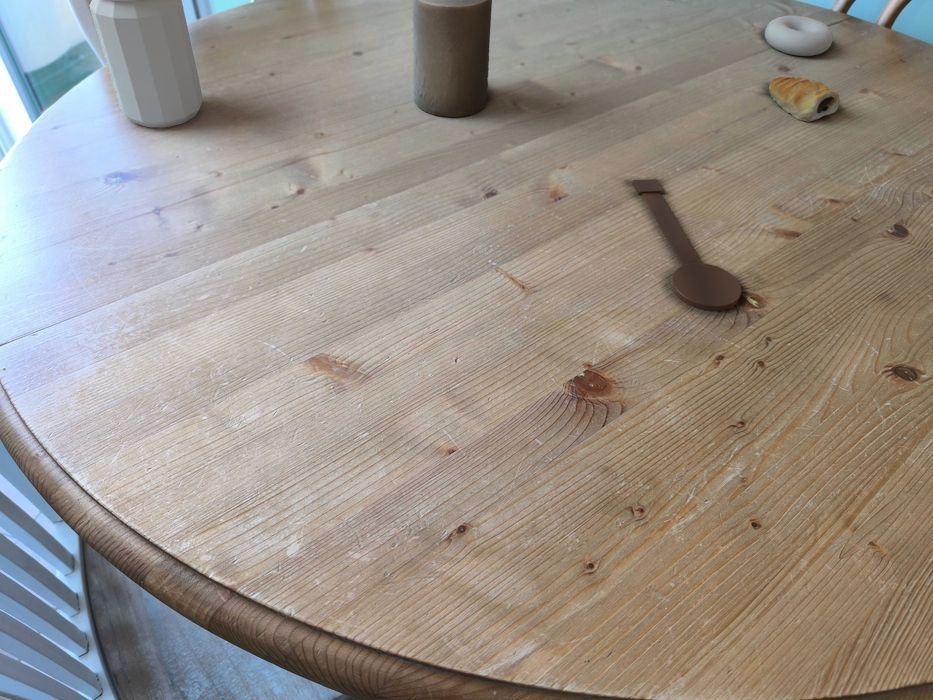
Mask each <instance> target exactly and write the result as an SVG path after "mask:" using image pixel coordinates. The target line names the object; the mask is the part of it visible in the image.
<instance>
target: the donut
mask: <svg viewBox="0 0 933 700" xmlns="http://www.w3.org/2000/svg"><path fill="white" fill-rule="evenodd" d="M764 37H765V40H766V42H767V44H768V45H769V46H770V47H772V48H773V49H774V50H777V51H779V52H781V53H785V54H788V55H792V56H798V57H812V56H817V55H821V54H822V53H824V52H827V50H828V49H830V47H831V45H832V44H833V40H834V33H833V31H832V30H831V28H830V27H829V26H828V25H826V24H825V23H824V22H822V21H820V20H818V19H816V18H811V17H807V16H802V15H783V16H778V17H776V18H774V19H772V20H771V21H769V22H768V24H767V26H766V28H765V30H764Z"/></svg>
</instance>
